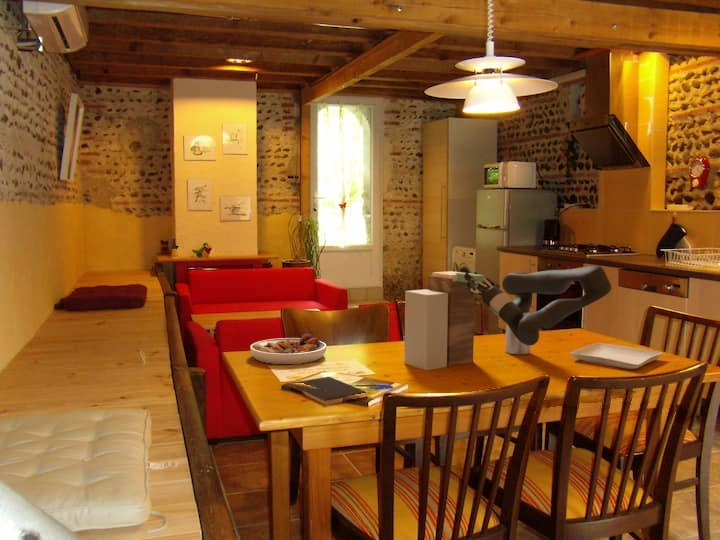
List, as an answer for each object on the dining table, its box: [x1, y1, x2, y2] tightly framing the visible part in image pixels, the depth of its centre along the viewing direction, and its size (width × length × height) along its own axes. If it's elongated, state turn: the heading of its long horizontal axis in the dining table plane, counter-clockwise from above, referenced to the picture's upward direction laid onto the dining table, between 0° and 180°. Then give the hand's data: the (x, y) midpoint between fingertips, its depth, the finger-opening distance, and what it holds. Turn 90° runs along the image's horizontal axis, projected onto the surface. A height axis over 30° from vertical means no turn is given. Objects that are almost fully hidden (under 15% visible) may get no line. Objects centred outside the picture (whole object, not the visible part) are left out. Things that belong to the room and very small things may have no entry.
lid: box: [431, 270, 485, 284], centre depth 259 cm, size 21×10×3 cm, turn 35°
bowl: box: [249, 333, 327, 365], centre depth 270 cm, size 30×30×8 cm
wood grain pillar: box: [427, 275, 476, 367], centre depth 264 cm, size 13×12×33 cm
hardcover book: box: [292, 376, 367, 406], centre depth 221 cm, size 16×23×2 cm
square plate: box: [569, 342, 664, 370], centre depth 268 cm, size 27×27×4 cm
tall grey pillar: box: [404, 288, 448, 371], centre depth 258 cm, size 13×10×28 cm
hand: (469, 274), depth 254 cm, fingers closed on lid, 4 cm apart
